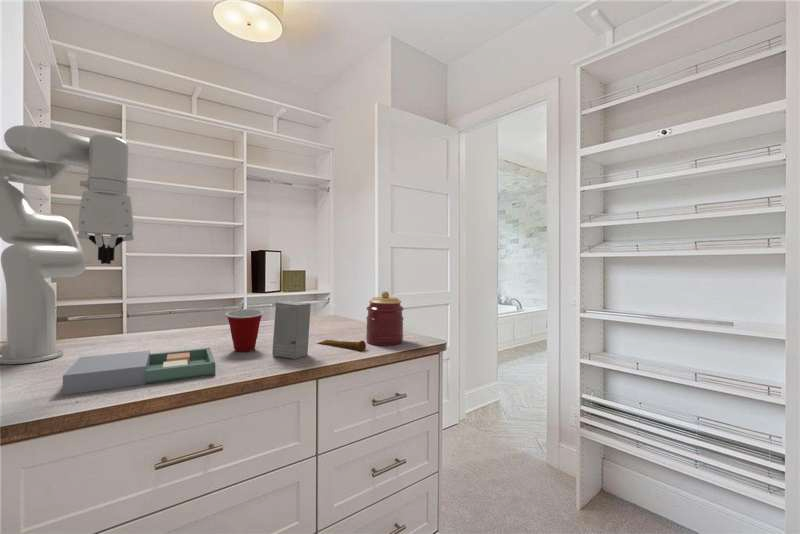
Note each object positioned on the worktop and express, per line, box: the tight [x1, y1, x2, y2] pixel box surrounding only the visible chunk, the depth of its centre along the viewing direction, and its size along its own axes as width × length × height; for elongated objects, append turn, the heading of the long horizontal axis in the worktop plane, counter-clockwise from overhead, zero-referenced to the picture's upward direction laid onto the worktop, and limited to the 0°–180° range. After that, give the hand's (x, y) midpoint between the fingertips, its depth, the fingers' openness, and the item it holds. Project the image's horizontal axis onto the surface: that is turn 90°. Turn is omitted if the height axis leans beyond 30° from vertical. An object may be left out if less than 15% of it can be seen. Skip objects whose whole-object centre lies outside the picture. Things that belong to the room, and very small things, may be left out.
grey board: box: [62, 350, 151, 396], centre depth 86 cm, size 14×16×4 cm
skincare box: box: [272, 300, 312, 360], centre depth 109 cm, size 8×7×16 cm
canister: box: [365, 291, 405, 346], centre depth 128 cm, size 13×13×18 cm
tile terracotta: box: [166, 352, 190, 365], centre depth 96 cm, size 5×5×2 cm
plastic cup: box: [225, 308, 264, 353], centre depth 114 cm, size 11×11×12 cm
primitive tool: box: [316, 339, 367, 352], centre depth 121 cm, size 19×6×4 cm, turn 57°
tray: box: [145, 347, 216, 385], centre depth 93 cm, size 14×17×3 cm
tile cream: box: [163, 360, 188, 368], centre depth 89 cm, size 5×5×2 cm
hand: (106, 263), depth 91 cm, fingers closed
